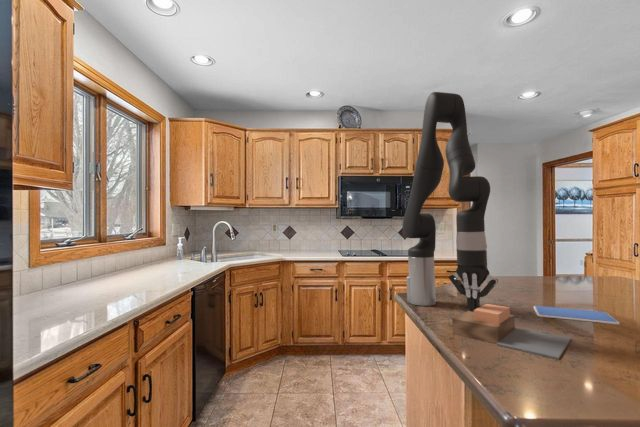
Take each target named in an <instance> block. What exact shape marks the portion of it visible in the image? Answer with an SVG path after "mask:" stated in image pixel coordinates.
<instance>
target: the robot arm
mask: <svg viewBox="0 0 640 427" xmlns="http://www.w3.org/2000/svg"><path fill="white" fill-rule="evenodd" d="M422 119H423V120H422V128H421V138H420V143H419V149H418V154H417V157H416V158H417V159H416V164H415V167H414V173H413V178H412V180H413V181H412V184H411V190H410V195H409V199H408V202H407V205H406V209H405V212H404V216H403V219H402V220H403V221H402V233H403V235H404V237H405V238H406V239H419V241H418V243H416V244H415V245H413V246H412V247H410V248H408V250H407V257H408V258H407V260H408V261H407V264H408V275H407V276H406V299H407V300H406V302H407V303H409V304H411V305H413V306H414V305H415V306H420V307H421V306H422V307H423V306H424V307H427V306H428V307H429V306H433V305H436V301H437V300H436V299H437V298H436V297H437V296H436V277H435V276H436V274H435V251H436V240H437V239H436V236H437V235H436V234H437V232H436V226H437V225H436V220H435V218H434V216H433V215H432V214H430V213H421V211H422V208H423V206H424V204H425V202H426V201H427V200H428V199H429V197H430V196H431V195H432V193H434V192H435V190H436V189H437V187H438V186H439V185H440V182H441V180H442V176H443V172H444V169H445V168H444V166H445V159H444V156H443V153H442V151H441V148H440V146H439V143H438V140H437V124H438V123H442V124H450V126H451V128H452V132H451V134H450V136H449V137H448V138H449V139H448V140H447V142H446V146H445V158H446V162H447V165H448V169H449V171H448V172H449V179H448V180H449V182H448V195H449V197H450V198H451V200H453V201H454V202H456V203H466V202H467V203H468V202H472V204H471V206H470V208H469V209H465V210H460V211H459V212H457V214H456V241H455V242H456V244H455V245H456V264H457V268H456V269H455V272H454V273H453V274H451V275H449V276H448V279H449V280H450V282H451V283H452V285H453V286H454V287H455V289H456V290H457V291H458V292H459V294H460V295H463V296H465V297H466V307H467V309H468V310H470V311H471V312H474V310H475V309H477V308H479V307H481V303H480V301H481V300H480V299H481V298H484V297H486V296H487V295H488V294H490V292H491V291H492V290H493V289H494V288H495V287H496V286H497V284H498V283H499V279H498V278H494V277H493V276H492V275H491V274H490V270H488V254H487V252H488V251H487V248H488V246H487V245H488V243H487V237H486V232H485V231H486V230H485V229H486V228H485V227H486V226H485V214H486V211H487V206H488V202H489V198H490V194H491V185H490V181H489V180H488V179H487V178H486V177H484V176H479V175H478V176H477V175H476V176H474V175H473V176H467V175H470V174H471V173H472V172H474V171H475V169H476V162H475V159H474V154H473V151H472V148H471V146H470V145H471V144H470V141H469V134H468V123H467V116H466V106H465V101H464V99H463V97H462V95H460V94H458V93H453V92H441V91H433V92H431V93H430V94H429V95H428V97H427V99H426V101H425V106H424V111H423V118H422ZM461 281H462V282H461ZM485 281H486V285H485V287H484V288H483V289H482V285H483V284H484V283H485Z"/></svg>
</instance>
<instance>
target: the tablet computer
mask: <svg viewBox="0 0 640 427" xmlns="http://www.w3.org/2000/svg"><path fill="white" fill-rule="evenodd" d="M533 309H534V312H535V314H536V315H537V317H539V318H540V317H541V318H548V319H558V320H568V321H569V320H570V321H577V322H578V321H579V322H589V323H598V324H605V325H617V326H618V325H621V323H620V322H619V321H618V320H617V319H615V318H614V317H613V316H611V315H610V314H609V313H608V312H606V311H600V310H588V309H587V310H585V309H577V308H566V307H565V308H564V307H554V306H553V307H552V306H542V305H534V306H533Z"/></svg>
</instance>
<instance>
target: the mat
mask: <svg viewBox="0 0 640 427" xmlns="http://www.w3.org/2000/svg"><path fill="white" fill-rule="evenodd" d="M571 340H572V337H568V336H563V335H558V334H552V333H547V332H540V331H537V330H529V329H526V328H520V327H515V329H514V330H512V331H511V332H510V333H509V334H508V335H506V336H505V337H504V338H503V339H502V340H501V341H499V342H498V343H497V344H496V345H497V346H499V347H503V348H507V349H511V350H516V351H519V352H520V351H521V352H524V353H529V354H533V355H537V356H542V357H546V358H550V359H555V360H559V359H560V358H561V357H562V355H563V354H564V352H565V350H566V349H567V347H568V345H569V343H570V342H571Z"/></svg>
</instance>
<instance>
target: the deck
mask: <svg viewBox="0 0 640 427" xmlns="http://www.w3.org/2000/svg"><path fill="white" fill-rule="evenodd" d="M515 321H516V320H515V314H510V317H509V318H508V319H506V320H505V321H503V322H502V323H500V324H494V323H488V322H483V321H478V320H474V312H471V311H470V310H469V309H468V310H467V311H465V312H462V313H461V314H459V315H457V316H454V317H453V318H452V334H453V335H457V336H460V337H466V338H470V339H474V340H479V341H484V342H487V343H492V344H496V345H497V343H498V342H499V341H501V340H502V339H503V338H504V337H505V336H506V335H508V334H509V333H510V332H511V331H512V330H514V329H515V328H516V322H515Z"/></svg>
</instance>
